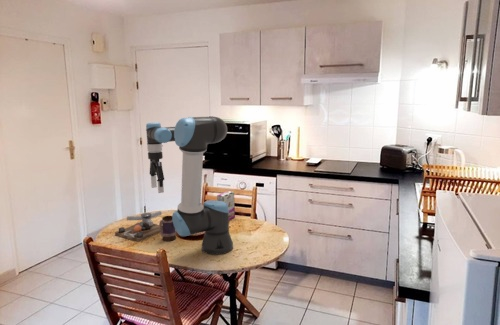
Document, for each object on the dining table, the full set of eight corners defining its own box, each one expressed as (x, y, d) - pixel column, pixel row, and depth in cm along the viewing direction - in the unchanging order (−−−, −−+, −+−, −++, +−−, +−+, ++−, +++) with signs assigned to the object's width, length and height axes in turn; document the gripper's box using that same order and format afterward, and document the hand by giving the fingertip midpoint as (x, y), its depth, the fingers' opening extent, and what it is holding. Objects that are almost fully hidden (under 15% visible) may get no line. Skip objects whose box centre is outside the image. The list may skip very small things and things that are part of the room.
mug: (168, 235, 188) (167, 213, 186) (179, 237, 185) (177, 215, 183) (155, 242, 179) (153, 219, 177) (166, 244, 176) (165, 221, 174)
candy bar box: (228, 216, 217) (228, 190, 214) (235, 217, 214) (234, 191, 212) (217, 221, 208) (216, 194, 205) (224, 223, 205) (223, 196, 202)
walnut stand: (166, 229, 197) (165, 223, 196) (138, 241, 180) (137, 235, 179) (143, 223, 206) (143, 218, 205) (115, 235, 189) (114, 229, 188)
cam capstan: (173, 225, 198) (172, 211, 196) (151, 235, 184) (150, 220, 182) (149, 220, 207) (148, 206, 206) (126, 229, 193) (125, 214, 192)
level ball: (143, 231, 189) (143, 224, 188) (137, 234, 185) (137, 226, 185) (138, 230, 191) (137, 223, 190) (132, 232, 187) (131, 225, 187)
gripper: (169, 153, 180) (171, 193, 184) (155, 148, 201) (158, 184, 205) (154, 155, 176) (156, 196, 180) (142, 149, 198) (144, 186, 201)
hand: (157, 190), depth 193 cm, fingers open, 13 cm apart
